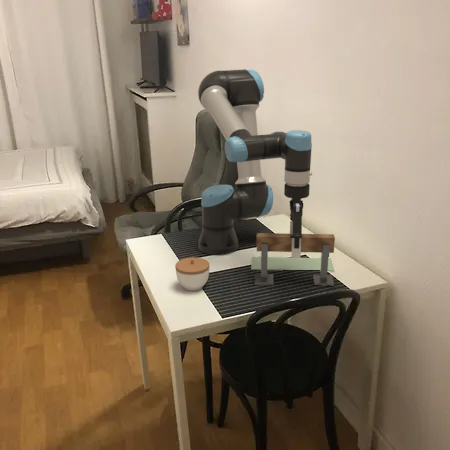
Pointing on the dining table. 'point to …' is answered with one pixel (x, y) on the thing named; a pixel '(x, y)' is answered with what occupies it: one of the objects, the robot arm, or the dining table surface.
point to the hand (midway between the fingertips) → (294, 248)
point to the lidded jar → (192, 273)
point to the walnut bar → (284, 242)
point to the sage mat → (290, 263)
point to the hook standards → (318, 279)
